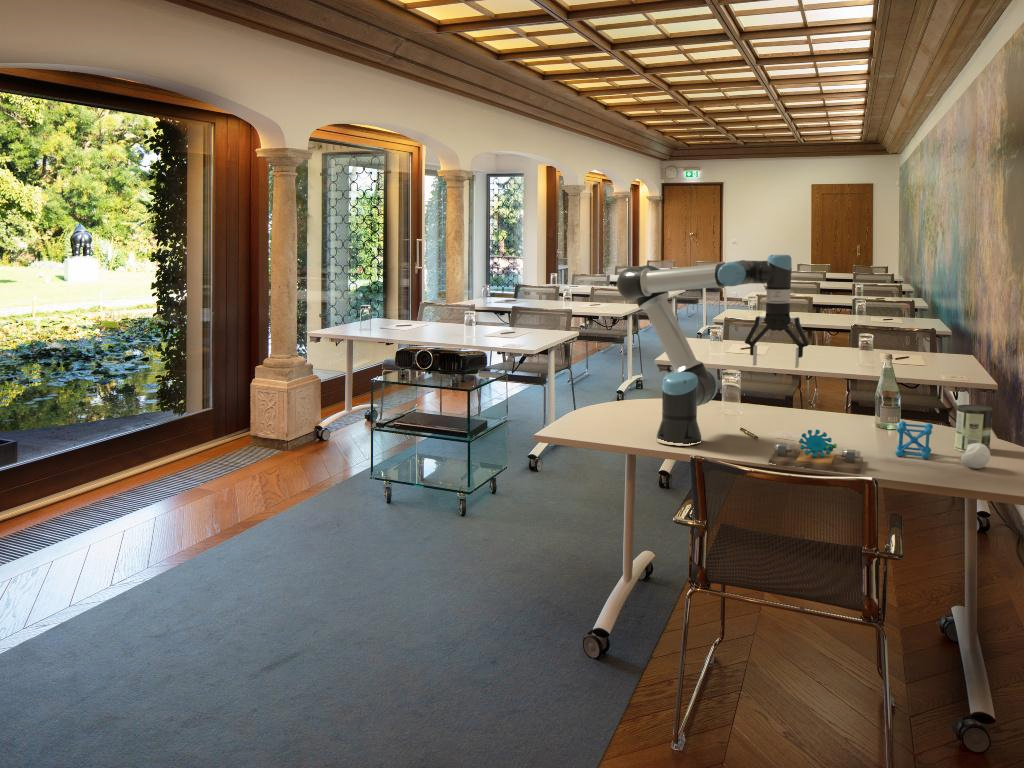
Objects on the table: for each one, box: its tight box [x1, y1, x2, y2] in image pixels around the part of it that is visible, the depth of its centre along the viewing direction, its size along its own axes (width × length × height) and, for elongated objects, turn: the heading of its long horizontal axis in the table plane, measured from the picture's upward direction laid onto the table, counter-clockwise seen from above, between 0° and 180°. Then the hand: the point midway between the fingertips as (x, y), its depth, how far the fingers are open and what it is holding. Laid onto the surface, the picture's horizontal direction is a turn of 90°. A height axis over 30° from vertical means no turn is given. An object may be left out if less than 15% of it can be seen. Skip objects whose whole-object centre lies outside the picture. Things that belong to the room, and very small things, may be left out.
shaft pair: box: [773, 443, 861, 464], centre depth 265 cm, size 25×4×3 cm, turn 64°
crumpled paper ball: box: [960, 443, 991, 470], centre depth 257 cm, size 8×8×8 cm
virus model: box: [798, 429, 838, 458], centre depth 268 cm, size 11×6×10 cm
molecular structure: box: [894, 420, 934, 460], centre depth 273 cm, size 10×10×10 cm
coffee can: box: [954, 404, 994, 453], centre depth 278 cm, size 10×10×14 cm
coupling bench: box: [768, 449, 864, 474], centre depth 266 cm, size 26×15×2 cm, turn 64°
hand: (775, 366), depth 285 cm, fingers open, 13 cm apart
